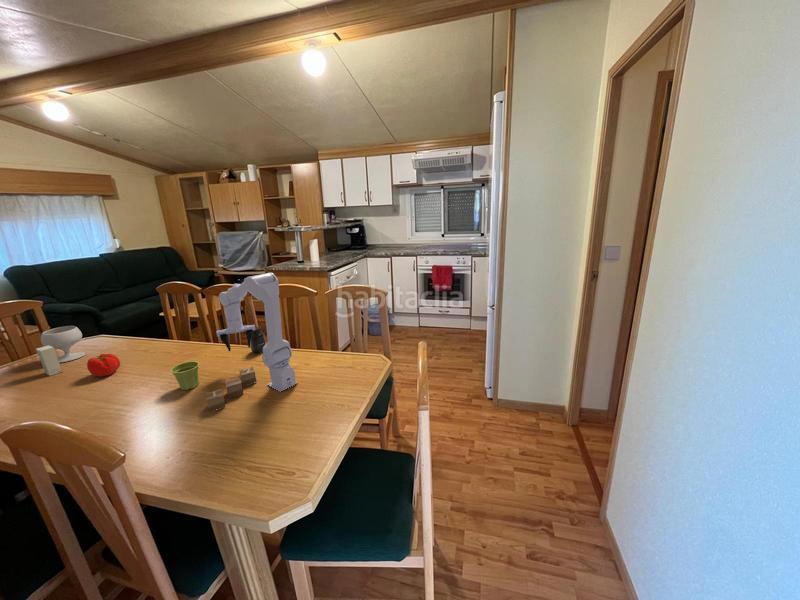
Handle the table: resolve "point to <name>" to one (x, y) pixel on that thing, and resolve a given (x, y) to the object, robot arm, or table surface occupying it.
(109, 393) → the table surface
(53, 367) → the skincare box
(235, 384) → the plain block
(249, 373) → the block seven
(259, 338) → the supplement bottle
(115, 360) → the tomato
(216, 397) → the block one
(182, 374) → the plant pot
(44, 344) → the chalice
